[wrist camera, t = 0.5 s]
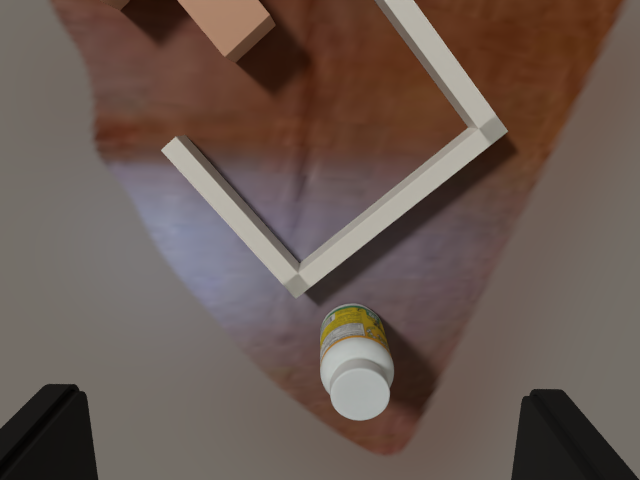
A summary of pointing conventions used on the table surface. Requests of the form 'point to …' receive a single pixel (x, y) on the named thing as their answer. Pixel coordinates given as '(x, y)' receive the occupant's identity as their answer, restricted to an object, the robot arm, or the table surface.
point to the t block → (225, 22)
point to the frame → (388, 208)
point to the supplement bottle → (355, 361)
